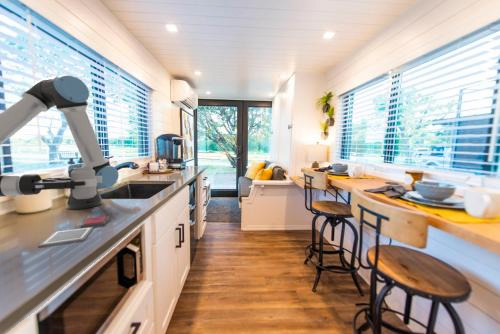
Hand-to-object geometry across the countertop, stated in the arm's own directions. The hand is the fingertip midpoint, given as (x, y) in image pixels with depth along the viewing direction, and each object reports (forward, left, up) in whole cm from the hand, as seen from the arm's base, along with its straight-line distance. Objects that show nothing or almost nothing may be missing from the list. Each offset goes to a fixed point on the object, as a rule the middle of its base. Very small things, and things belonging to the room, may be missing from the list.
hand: (99, 180), depth 86 cm
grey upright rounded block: (+1, -5, -6) cm, 8 cm away
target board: (+11, -6, -18) cm, 22 cm away
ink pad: (-2, -4, -18) cm, 19 cm away
